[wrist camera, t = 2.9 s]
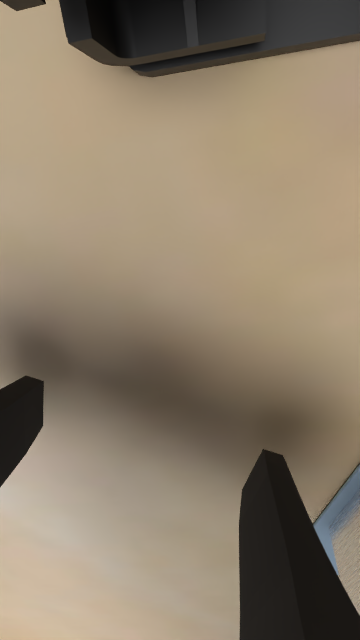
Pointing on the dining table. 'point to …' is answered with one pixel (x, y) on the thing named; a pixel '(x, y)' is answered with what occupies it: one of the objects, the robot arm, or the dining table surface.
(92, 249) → the dining table surface
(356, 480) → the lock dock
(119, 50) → the end cap
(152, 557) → the dining table surface
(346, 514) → the aluminium block
